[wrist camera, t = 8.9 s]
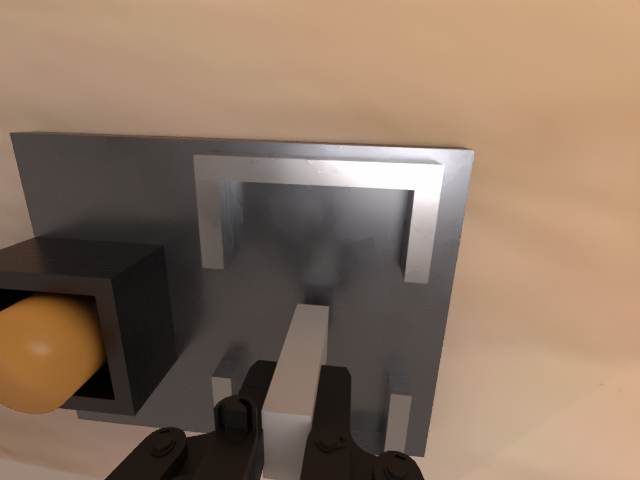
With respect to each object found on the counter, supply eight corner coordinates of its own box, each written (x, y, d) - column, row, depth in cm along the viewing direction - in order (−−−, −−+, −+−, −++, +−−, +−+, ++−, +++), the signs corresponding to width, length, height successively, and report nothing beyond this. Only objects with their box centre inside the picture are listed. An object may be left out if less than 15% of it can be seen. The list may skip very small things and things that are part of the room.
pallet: (95, 400, 23) (21, 480, 18) (36, 131, 18) (-93, 136, 13) (419, 435, 22) (439, 534, 16) (464, 147, 16) (514, 160, 11)
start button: (41, 361, 18) (-19, 407, 15) (19, 280, 16) (-52, 314, 13) (126, 369, 17) (80, 419, 14) (111, 287, 16) (57, 324, 13)
